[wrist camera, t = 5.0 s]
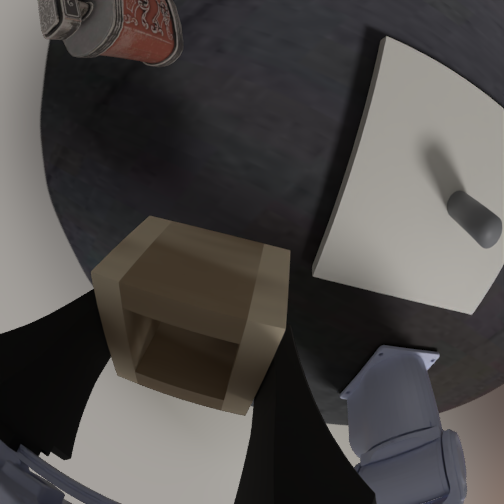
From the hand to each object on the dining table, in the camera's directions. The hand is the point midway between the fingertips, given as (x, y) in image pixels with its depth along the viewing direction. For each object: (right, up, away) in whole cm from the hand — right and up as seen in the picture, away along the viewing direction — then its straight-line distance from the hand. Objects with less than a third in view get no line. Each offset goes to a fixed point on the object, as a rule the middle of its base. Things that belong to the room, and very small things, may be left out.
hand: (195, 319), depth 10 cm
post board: (+16, +6, +5) cm, 18 cm away
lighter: (-4, +18, +2) cm, 18 cm away
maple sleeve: (0, +1, +2) cm, 2 cm away
